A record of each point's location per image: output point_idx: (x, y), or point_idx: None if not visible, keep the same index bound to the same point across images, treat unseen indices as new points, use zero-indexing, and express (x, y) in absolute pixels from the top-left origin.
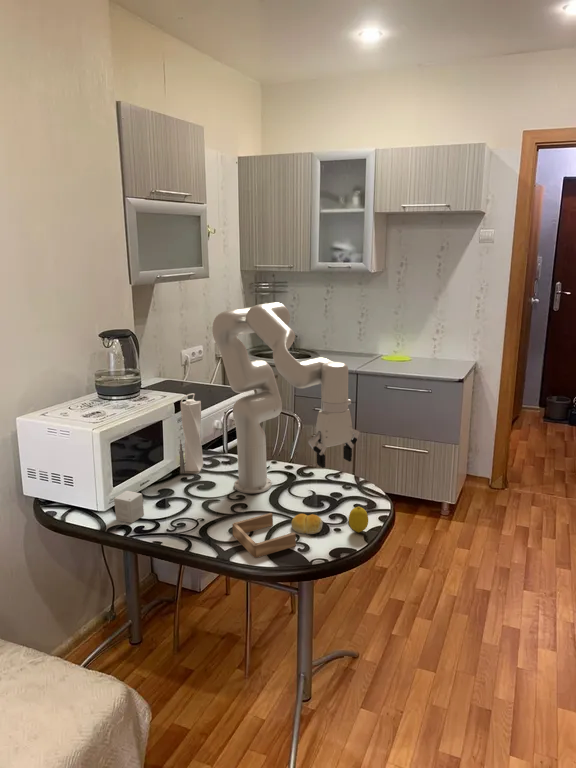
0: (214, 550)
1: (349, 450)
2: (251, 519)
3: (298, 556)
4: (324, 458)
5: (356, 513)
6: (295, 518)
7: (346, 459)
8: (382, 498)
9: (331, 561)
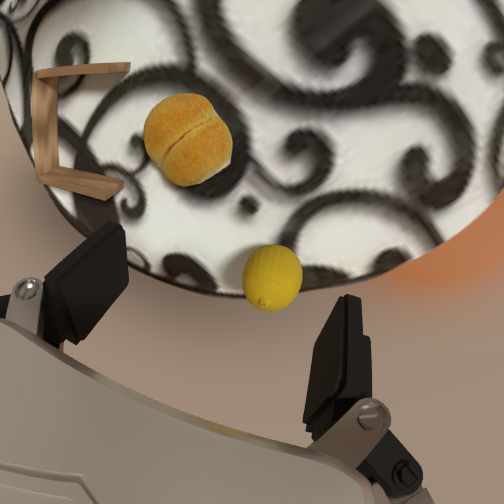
0: (23, 106)
1: (305, 418)
2: (62, 73)
3: (112, 220)
4: (89, 326)
5: (248, 299)
6: (149, 124)
7: (324, 326)
8: (493, 197)
9: (153, 275)
